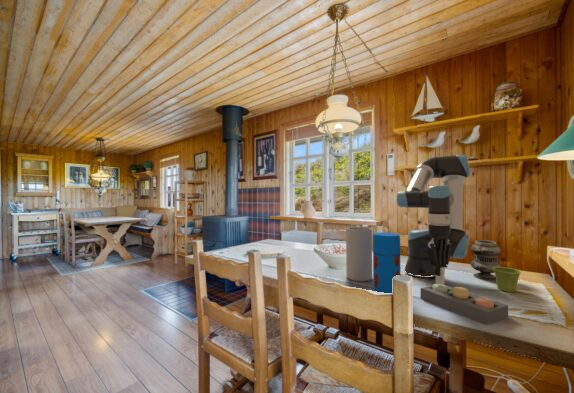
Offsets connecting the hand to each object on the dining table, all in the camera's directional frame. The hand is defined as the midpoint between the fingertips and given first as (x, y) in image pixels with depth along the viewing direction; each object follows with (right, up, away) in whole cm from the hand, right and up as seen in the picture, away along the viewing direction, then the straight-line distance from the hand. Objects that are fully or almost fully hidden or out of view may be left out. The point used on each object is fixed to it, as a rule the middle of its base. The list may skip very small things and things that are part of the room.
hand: (439, 283), depth 103 cm
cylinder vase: (-25, -7, +27) cm, 37 cm away
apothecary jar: (+38, -6, +26) cm, 47 cm away
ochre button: (+3, -4, -8) cm, 9 cm away
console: (+3, -6, -8) cm, 10 cm away
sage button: (0, -5, 0) cm, 5 cm away
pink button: (+6, -5, -15) cm, 17 cm away
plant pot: (+34, -6, +9) cm, 36 cm away
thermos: (-19, -7, +7) cm, 21 cm away
